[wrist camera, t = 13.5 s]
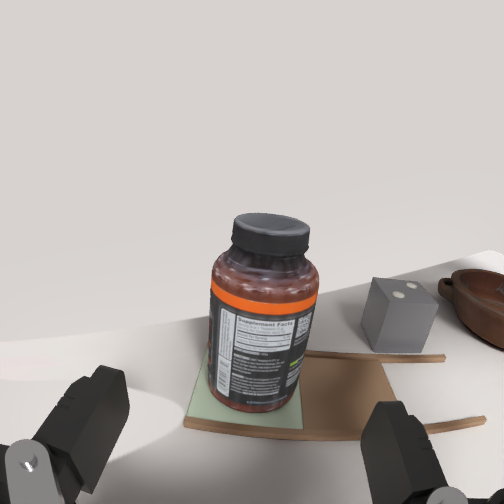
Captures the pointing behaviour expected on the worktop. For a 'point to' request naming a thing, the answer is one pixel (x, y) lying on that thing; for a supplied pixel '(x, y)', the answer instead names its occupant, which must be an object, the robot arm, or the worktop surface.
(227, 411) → the board
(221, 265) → the supplement bottle
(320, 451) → the worktop surface
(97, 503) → the worktop surface
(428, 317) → the die
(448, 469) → the worktop surface
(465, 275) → the dish
